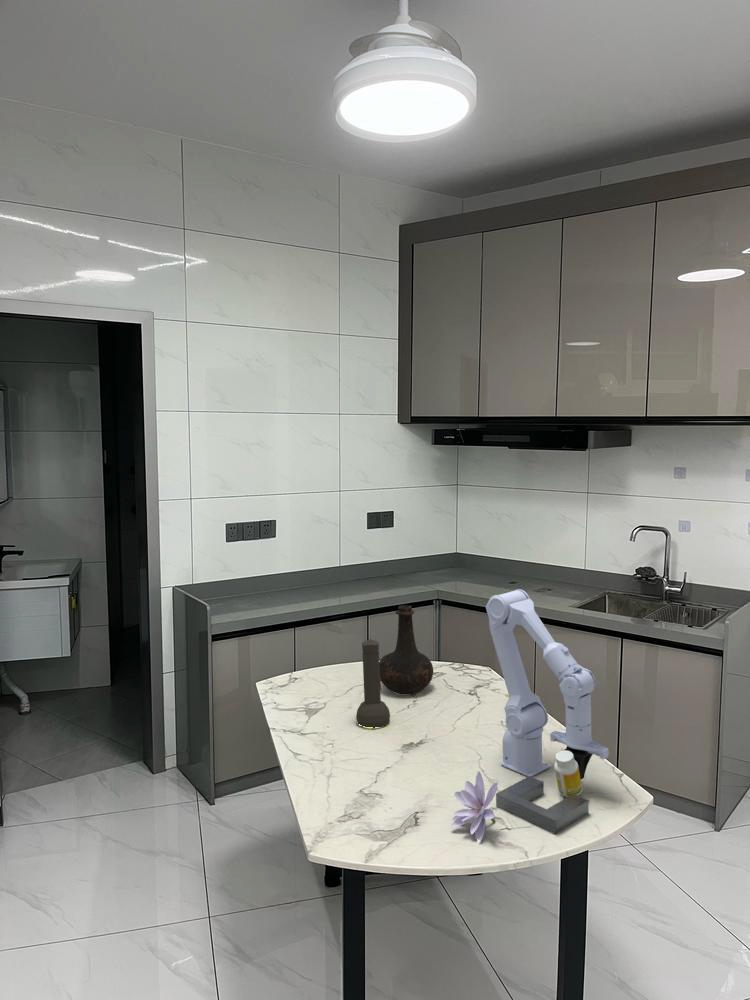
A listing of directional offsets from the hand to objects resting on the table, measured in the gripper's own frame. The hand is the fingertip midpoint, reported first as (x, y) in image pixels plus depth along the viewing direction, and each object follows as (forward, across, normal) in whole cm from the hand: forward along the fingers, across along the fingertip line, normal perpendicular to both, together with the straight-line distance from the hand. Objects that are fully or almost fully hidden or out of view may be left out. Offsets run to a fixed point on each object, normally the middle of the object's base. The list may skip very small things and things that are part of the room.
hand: (579, 778), depth 175 cm
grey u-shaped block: (+2, 0, +14) cm, 14 cm away
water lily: (+3, +6, +30) cm, 31 cm away
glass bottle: (+2, +77, -17) cm, 79 cm away
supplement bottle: (+2, 0, +3) cm, 4 cm away
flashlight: (+2, +64, +8) cm, 65 cm away
